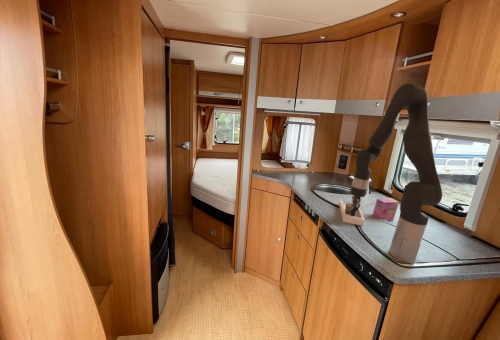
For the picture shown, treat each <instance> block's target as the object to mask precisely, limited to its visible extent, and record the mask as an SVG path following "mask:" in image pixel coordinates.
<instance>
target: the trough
mask: <svg viewBox="0 0 500 340" xmlns="http://www.w3.org/2000/svg"><path fill="white" fill-rule="evenodd" d="M338 204H339V209H340V210H339V211H340V215H341V218H342V219H341V220H342V222H343V223H348V224H351V225H352V224H353V225H358V226H361V227H363V226H364V224H365V222H366V219H365V216H364V214H363V212H362V210H361V208H360V207H361V206H360V207H359V209H358V211H356V214H355V216H351V215H350V214H346V213H345V207H346V204H344V202H343V199H342V198H340V199H339V203H338Z"/></svg>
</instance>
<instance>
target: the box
mask: <svg viewBox="0 0 500 340" xmlns="http://www.w3.org/2000/svg"><path fill="white" fill-rule="evenodd" d="M399 204H400V202H399V200H396V199H394V198H392V197H385V198H383V197H382V198H376V201H375V204H374V205H375V206H374V209H373V213H372V215H373V216H374V217H376V218H377V219H380V220H385V219H386V220H387V221H395V216H396V214H397V213H396V212H397V209H398V206H399Z"/></svg>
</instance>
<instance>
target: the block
mask: <svg viewBox="0 0 500 340" xmlns="http://www.w3.org/2000/svg"><path fill="white" fill-rule="evenodd" d="M345 205H346V207H345V213H346V214H350V213H351V209H352V208H351V207H352V206H351V202H346V203H345Z"/></svg>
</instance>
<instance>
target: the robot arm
mask: <svg viewBox="0 0 500 340" xmlns="http://www.w3.org/2000/svg"><path fill="white" fill-rule="evenodd" d="M428 101H429V99H428V92H427V90H426V89H425V88H423V87H422V86H419V85H416V84H414V83H410V82H407V83H403V84H401V85H400V86H399V87H398V88H397V89H396V91H395V93H394V94H393V96H392V98H391V100H390V102H389V104H388V106H387V108H386V110H385V113H384V115H383V117H382V118H381V121H380V123H379V125H378V126H377V127H376V129H375V131H374V132H373V133H372V135H371V136H370V138H369V140H368V143H369V144H368V146H367V148H364V149H360V150H359V151H358V152H357V154H356V156H355V172H354V176H353V179H352V182H351V188H350V191H349V193H350V194H351V195H352V196H351V202H350V203H351V206H352V207H351V208H352V209H351V213H350V215H351V216H355V214H356V211H358V209H359V207H361V202H362V198H363V197H366V195H367V192H368V187H369V183H370V181H369V180H370V177H371V173H372V171H371V168H370V163H373V162H374V161H376V160H377V158H378V157H379V156H380V154H381V152H382V149H383V148H384V146H385V145H386V143H387V142H388V141H389V139H390V138H391V137H392V135H393V132H394V130H395V124H396V121H397V118H398V116H399V114H400V112H401V111H402V110H403V109H404V108H406V109H407V110H406V111H407V115H408V116H407V117H408V123H407V126H406V127H405V130H404V132H403V136H402V137H403V139H402V140H403V148H404V152H405V155H406V157H407V158H408V160H409V161H410V163H412V165H413V166H414V168H415V170H416V172H417V175H418V180H419V181H416V180H415V181H414V180H413V181H410V182H408V183H407V184H406V185H405V187H404V189H403V192H402V195H401V196H402V197H401V201H400V203H399V204H400V205H399V211H400V213H399V217H398V220H397V224H396V227H395V230H394V234H393V237H392V241H391V243H390V247H389V250H388V251H389V252H388V253H389V254H390V256H392V257H393V258H395V260H396V259H397V260H396V261H398V262H402V261H403V263H406V264H407V263H408V264H411V265H415V262H416V260H417V256H418V252H419V250H420V248H421V242H422V241H423V240H422V239H423V236H424V235H425V231H426V228H427V225H428V222H429V217H428V216H427V215H426V213H424V212H422V207H423V206H430V207H431V206H432V207H434V206H437V205H439V203H441V201H442V198H443V189H442V185H441V181H440V179H439V175H438V173H437V172H438V171H437V167H436V162H435V157H434V152H433V151H434V150H433V140H432V134H431V129H430V121H429V115H428V114H429V113H428V110H429V109H428Z"/></svg>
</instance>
